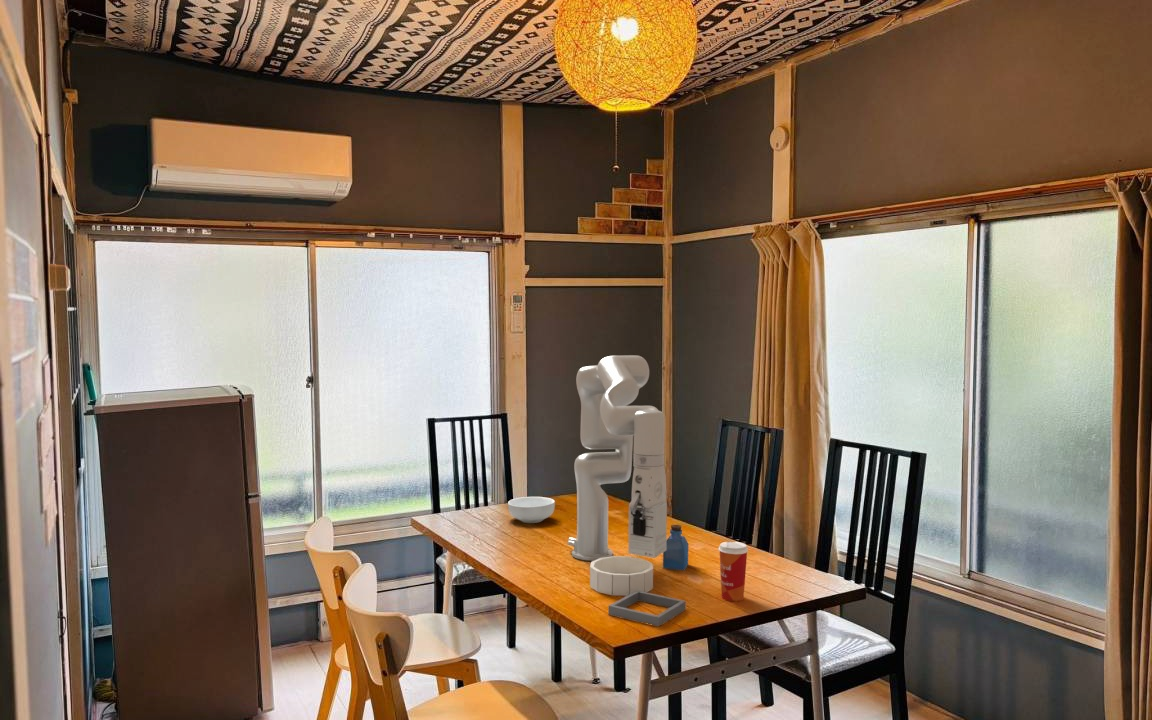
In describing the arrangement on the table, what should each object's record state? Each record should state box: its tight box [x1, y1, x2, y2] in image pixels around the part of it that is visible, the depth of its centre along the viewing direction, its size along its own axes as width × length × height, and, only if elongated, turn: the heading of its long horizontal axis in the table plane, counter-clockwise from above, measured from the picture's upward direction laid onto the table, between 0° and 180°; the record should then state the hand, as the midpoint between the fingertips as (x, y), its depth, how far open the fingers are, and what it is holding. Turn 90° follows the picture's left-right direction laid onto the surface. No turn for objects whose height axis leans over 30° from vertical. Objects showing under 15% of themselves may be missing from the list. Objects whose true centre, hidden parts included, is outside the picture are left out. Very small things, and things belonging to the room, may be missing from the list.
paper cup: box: [718, 541, 749, 602], centre depth 216 cm, size 8×8×14 cm
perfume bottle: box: [662, 524, 689, 571], centre depth 243 cm, size 6×6×12 cm
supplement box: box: [628, 500, 668, 559], centre depth 205 cm, size 7×7×13 cm
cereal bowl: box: [507, 496, 556, 524], centre depth 297 cm, size 17×17×7 cm
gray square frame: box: [608, 590, 687, 627], centre depth 205 cm, size 14×14×2 cm
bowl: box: [589, 555, 654, 597], centre depth 226 cm, size 17×17×6 cm
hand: (647, 530), depth 205 cm, fingers closed on supplement box, 7 cm apart
